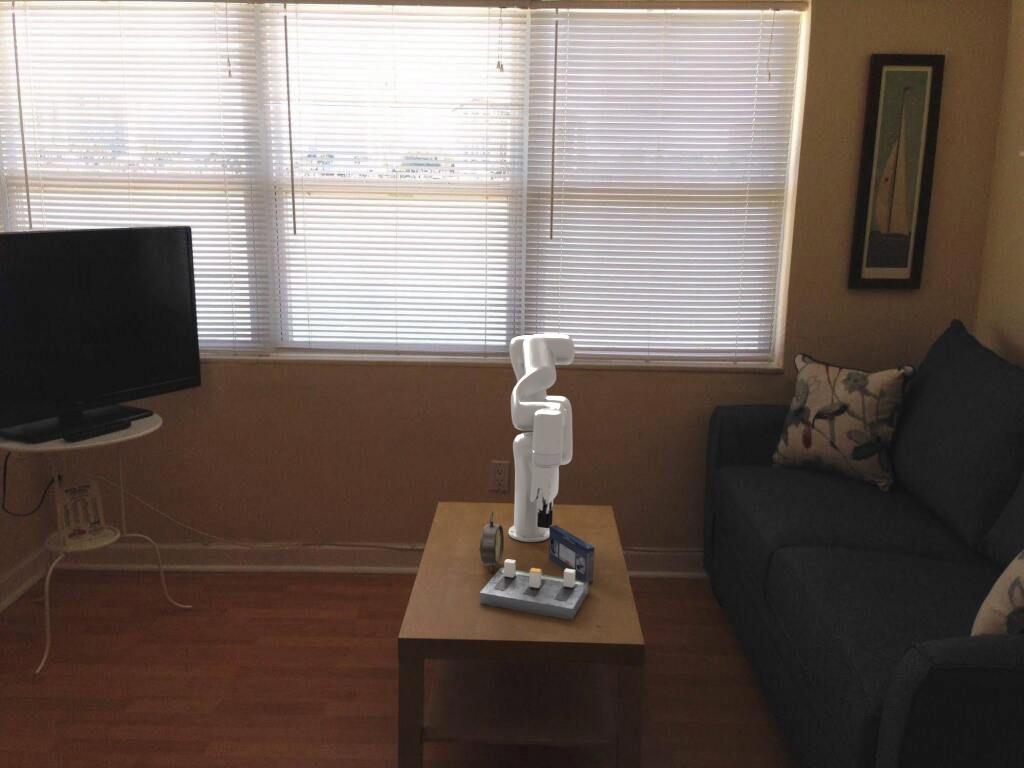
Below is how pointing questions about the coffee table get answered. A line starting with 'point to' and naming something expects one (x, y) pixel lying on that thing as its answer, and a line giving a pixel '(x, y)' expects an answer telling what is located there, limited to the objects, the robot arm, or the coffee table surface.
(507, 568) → the breaker
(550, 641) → the coffee table surface
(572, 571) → the block
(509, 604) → the breaker panel
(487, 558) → the dial indicator gauge
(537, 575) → the block
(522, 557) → the coffee table surface
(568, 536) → the vhs cassette tape
